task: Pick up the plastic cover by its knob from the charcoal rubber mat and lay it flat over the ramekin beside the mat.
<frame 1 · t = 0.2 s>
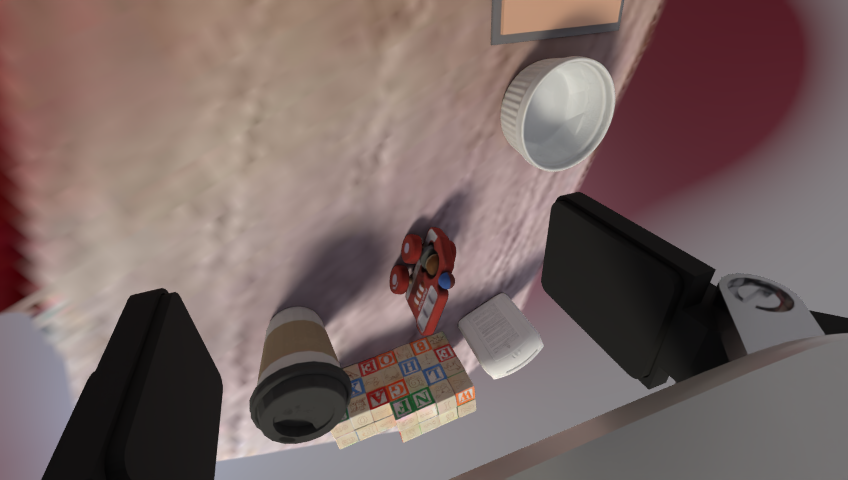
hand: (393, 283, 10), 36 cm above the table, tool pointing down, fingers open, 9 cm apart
toy fire truck: (417, 257, 56), on the table
stack of blocks: (386, 363, 65), on the table
coffee cup: (294, 325, 55), on the table
photo printer: (482, 311, 67), on the table
ramekin: (534, 106, 51), on the table
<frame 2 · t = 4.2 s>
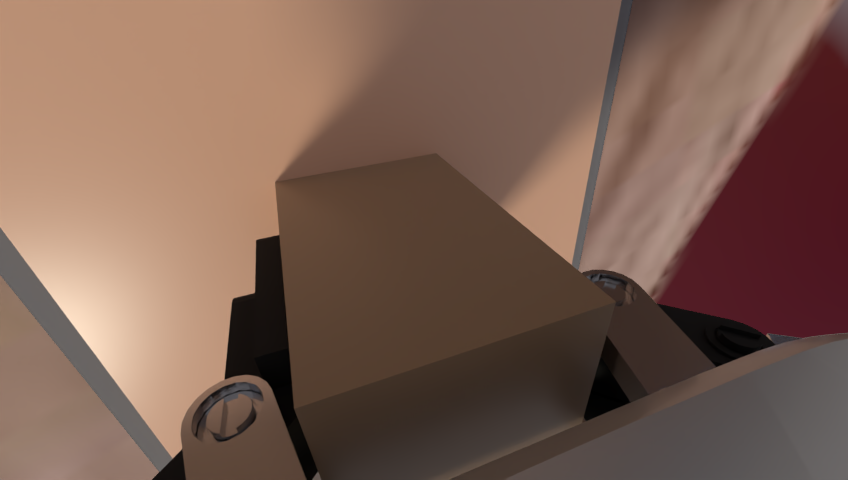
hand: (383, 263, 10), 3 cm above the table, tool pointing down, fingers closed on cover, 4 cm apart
cover: (366, 227, 12), resting on mat, touching gripper
mat: (363, 221, 13), on the table
when the fingers open (11 cm above the table, at t = 9.8 s): cover drops 2 cm, resting on ramekin.
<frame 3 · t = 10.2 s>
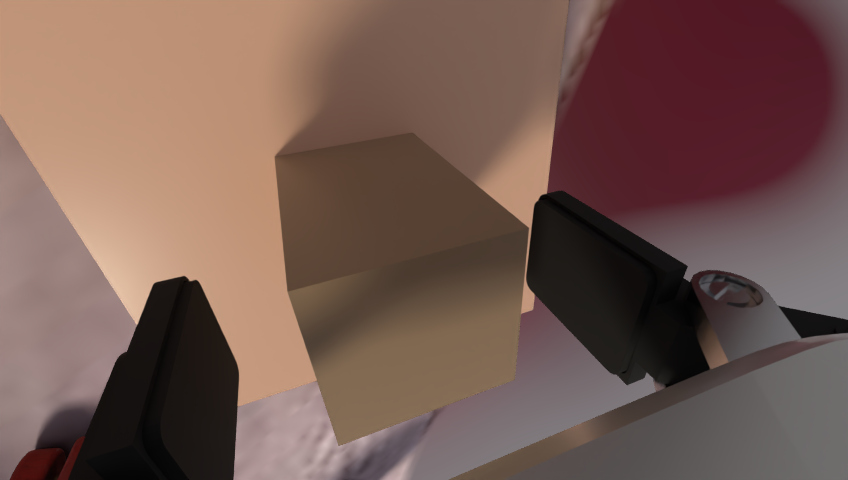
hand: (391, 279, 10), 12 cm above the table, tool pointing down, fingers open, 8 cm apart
toy fire truck: (104, 471, 25), on the table
cover: (354, 199, 14), point 7 cm above the table, touching ramekin
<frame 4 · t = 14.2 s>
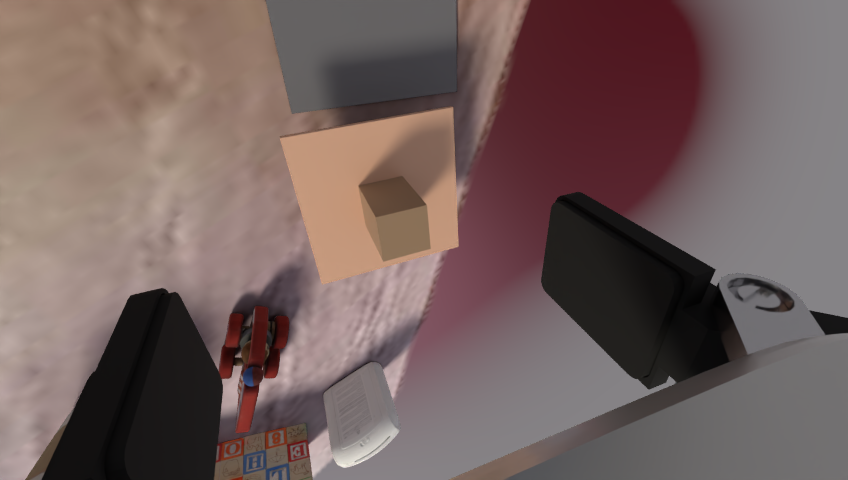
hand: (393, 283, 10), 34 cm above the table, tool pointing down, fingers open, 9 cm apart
toy fire truck: (254, 333, 50), on the table
stack of blocks: (235, 449, 60), on the table
coffee cup: (109, 411, 48), on the table
cover: (382, 198, 39), point 7 cm above the table, touching ramekin
mat: (367, 2, 36), on the table
photo printer: (352, 380, 61), on the table
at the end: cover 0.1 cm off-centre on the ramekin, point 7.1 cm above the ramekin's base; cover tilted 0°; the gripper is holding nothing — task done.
